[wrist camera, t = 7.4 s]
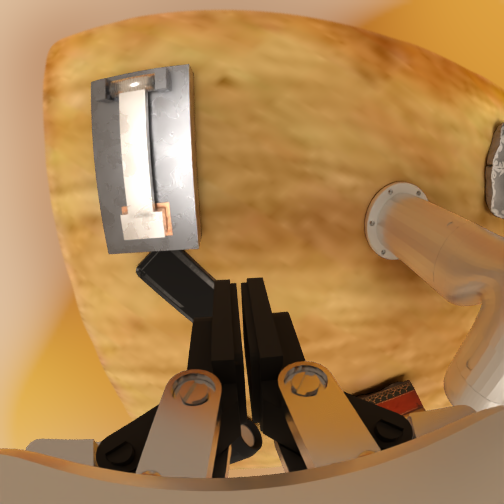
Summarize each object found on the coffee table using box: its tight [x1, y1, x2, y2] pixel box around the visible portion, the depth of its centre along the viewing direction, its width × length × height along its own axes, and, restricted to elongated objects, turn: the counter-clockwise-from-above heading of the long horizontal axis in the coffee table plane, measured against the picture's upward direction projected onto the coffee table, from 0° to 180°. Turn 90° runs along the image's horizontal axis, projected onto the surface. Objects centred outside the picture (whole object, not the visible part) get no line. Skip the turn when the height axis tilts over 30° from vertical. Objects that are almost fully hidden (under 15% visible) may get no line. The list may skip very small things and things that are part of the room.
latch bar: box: [109, 73, 167, 240], centre depth 28 cm, size 18×5×2 cm, turn 1°
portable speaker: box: [230, 419, 262, 464], centre depth 54 cm, size 26×10×10 cm, turn 129°
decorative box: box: [357, 380, 425, 417], centre depth 53 cm, size 20×22×16 cm
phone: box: [136, 250, 215, 323], centre depth 42 cm, size 8×1×15 cm
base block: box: [91, 64, 202, 254], centre depth 31 cm, size 22×12×8 cm, turn 1°
